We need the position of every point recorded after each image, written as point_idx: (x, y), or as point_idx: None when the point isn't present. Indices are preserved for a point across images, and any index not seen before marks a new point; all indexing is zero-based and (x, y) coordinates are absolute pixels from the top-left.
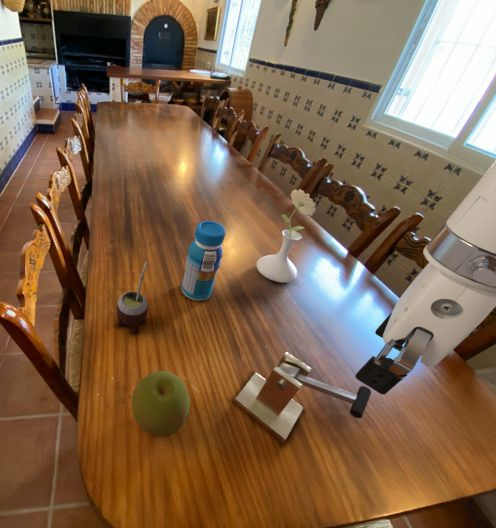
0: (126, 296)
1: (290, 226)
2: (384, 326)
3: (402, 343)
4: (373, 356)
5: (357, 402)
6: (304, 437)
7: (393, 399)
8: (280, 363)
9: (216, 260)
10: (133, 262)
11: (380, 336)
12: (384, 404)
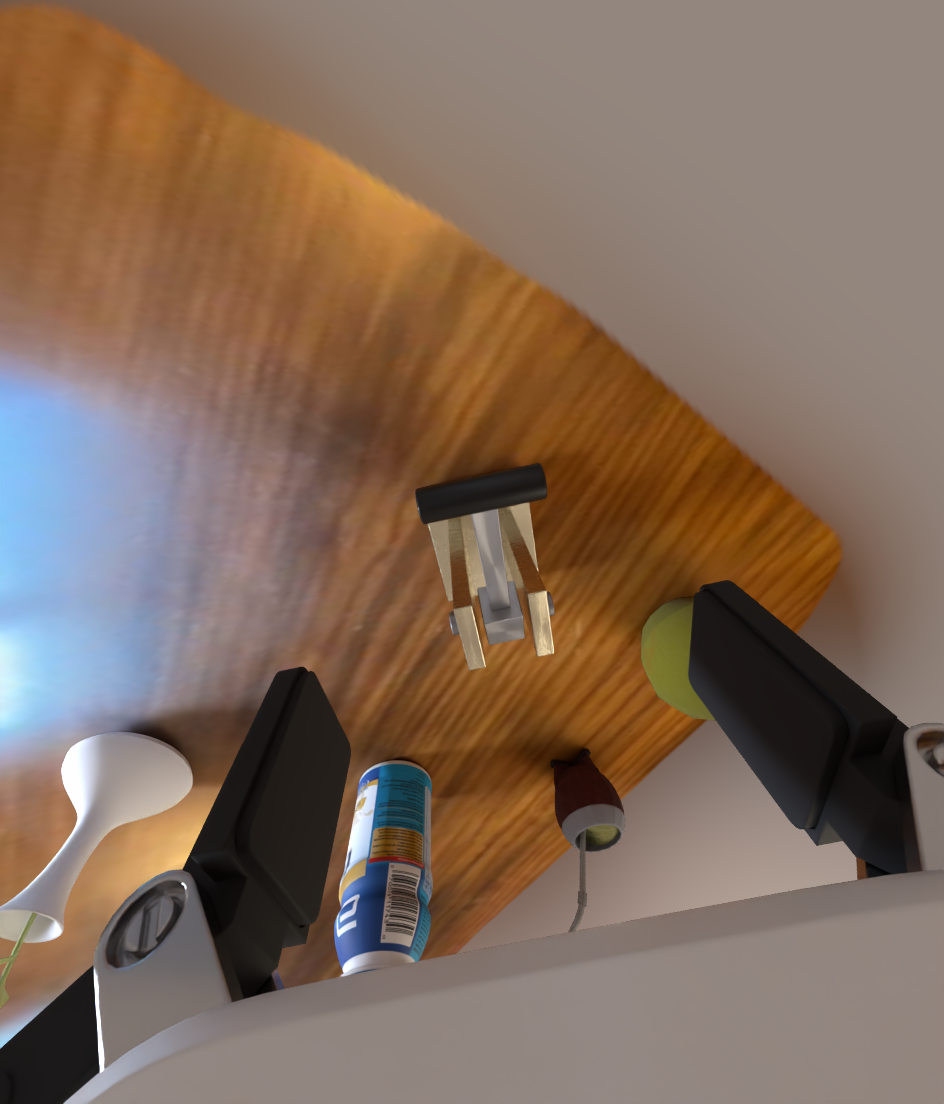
0: (597, 843)
1: (7, 966)
2: (334, 816)
3: (302, 692)
4: (818, 842)
5: (511, 503)
6: (469, 446)
7: (127, 358)
8: (481, 638)
9: (382, 904)
10: (466, 862)
11: (344, 734)
12: (174, 368)
